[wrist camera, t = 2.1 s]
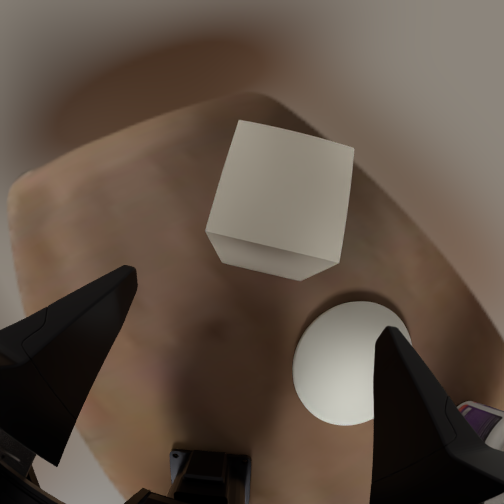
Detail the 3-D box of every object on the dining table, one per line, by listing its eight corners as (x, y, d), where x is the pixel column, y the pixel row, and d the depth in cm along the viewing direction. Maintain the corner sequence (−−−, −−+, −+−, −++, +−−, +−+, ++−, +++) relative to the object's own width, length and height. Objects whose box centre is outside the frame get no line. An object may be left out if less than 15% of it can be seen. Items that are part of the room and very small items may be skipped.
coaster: (401, 413, 20) (405, 416, 19) (288, 425, 20) (289, 429, 19) (410, 300, 22) (415, 300, 21) (295, 300, 22) (296, 300, 21)
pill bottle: (435, 454, 19) (493, 492, 9) (443, 408, 20) (512, 436, 10) (472, 438, 19) (530, 464, 10) (480, 393, 20) (546, 411, 11)
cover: (300, 281, 22) (339, 262, 13) (222, 262, 22) (205, 231, 13) (315, 207, 23) (354, 148, 14) (241, 189, 23) (239, 119, 14)
